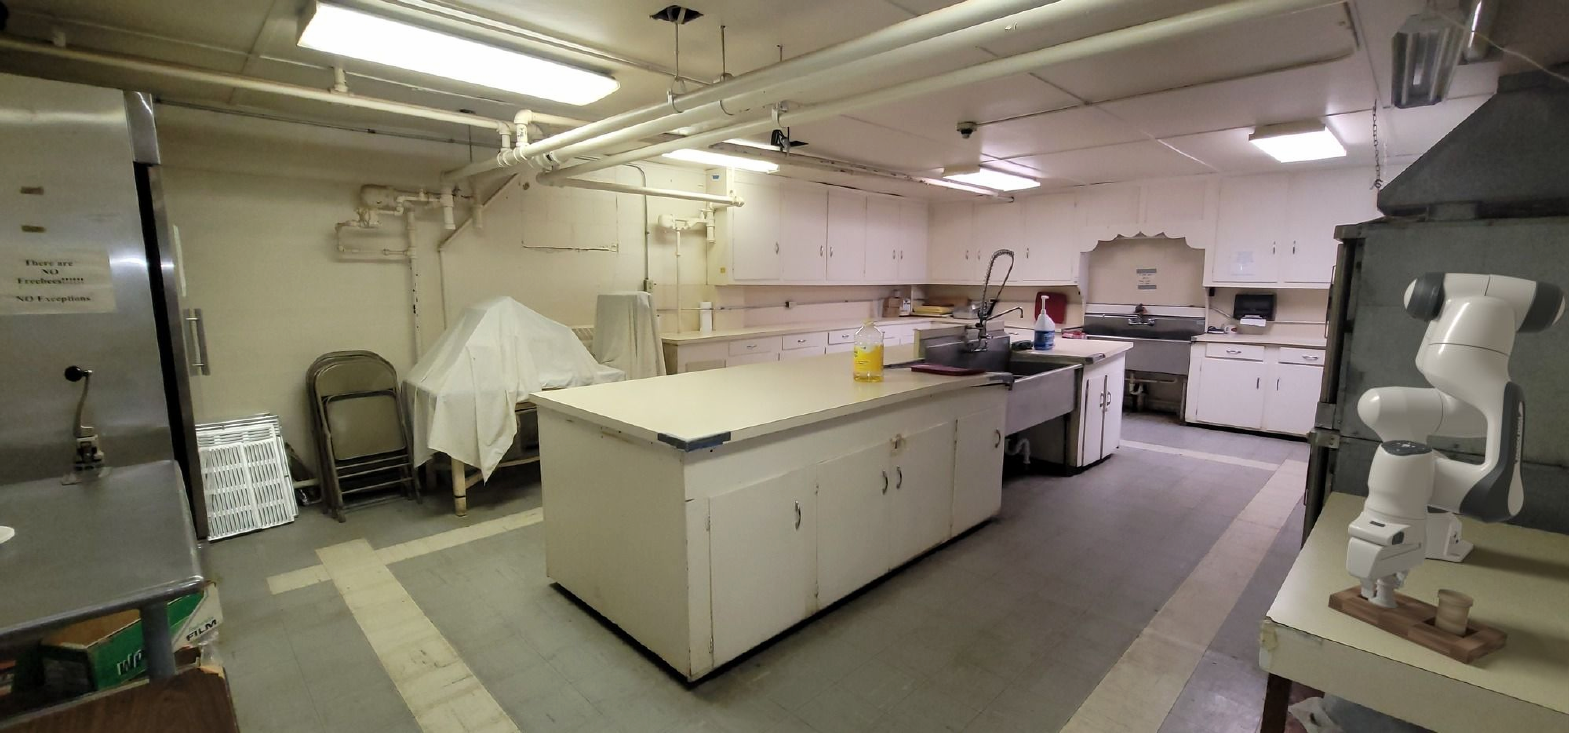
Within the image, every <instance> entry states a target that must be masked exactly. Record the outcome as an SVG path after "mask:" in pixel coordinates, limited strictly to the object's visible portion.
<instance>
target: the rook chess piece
mask: <svg viewBox="0 0 1569 733" xmlns="http://www.w3.org/2000/svg"><path fill="white" fill-rule="evenodd" d="M1398 580H1399V578H1398V577H1397V573H1395V574H1392V575H1389V576H1386V577H1383V578H1380V579H1377V583H1376V584H1377V588H1376V589H1377V590H1378V591H1377V597H1375V598H1372V599H1368V601H1369V602H1372V603H1374V604H1377V605H1380V606H1382V607H1385V608H1387V609H1390V610H1393V609H1395V608H1398V605H1397V604H1396V601H1395V599H1394V591H1395V589H1394V588H1395V587H1396V585H1395V582H1397V581H1398Z"/></svg>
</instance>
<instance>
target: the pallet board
mask: <svg viewBox="0 0 1569 733" xmlns="http://www.w3.org/2000/svg"><path fill="white" fill-rule="evenodd" d="M1377 584H1378V583H1375V589H1376V588H1377ZM1361 591H1362V586H1361V584H1359V585H1354V586H1353V587H1349V588H1347V589H1346V588H1345V589H1343V590H1340V591H1338V592H1334V593H1332V594H1331V593H1330V595H1329V597H1328V599H1329V600H1328V606H1327V607H1328V608H1331V609H1333V610H1336V611H1337V612H1340V613H1343V614H1345V615H1348V616H1350V617H1352V618H1355V619H1357V620H1359V621H1361V622H1364V623H1366V624H1369V625H1370V626H1371V625H1372V626H1373V627H1376V628H1378V629H1381V630H1383V631H1386V632H1388V633H1391V634H1393V635H1396V636H1398V637H1399V638H1403V639H1405V640H1407V641H1410V642H1412V643H1414V644H1416V645H1419V646H1422V647H1424V648H1426V649H1429V650H1431V651H1434V652H1436V653H1439V654H1441V655H1443V656H1446V657H1447V658H1450V659H1453V660H1455V661H1458V662H1460V663H1462V664H1465V665H1468V664H1470V663H1473V662H1475V661H1476V660H1478V659H1480V658H1482V657H1484V656H1485V657H1486V656H1487V655H1489V654H1491V653H1493V652H1495V651H1497V650H1500V649H1502V648H1503V647H1505V646H1506V644H1507V640H1508V639H1507V638H1508V635H1509V632H1507V631H1504V630H1502V629H1498V628H1496V627H1493V626H1491V625H1488V624H1486V623H1483V622H1480V621H1477V620H1475V619H1472V618H1469V613H1470V608H1471V607H1473V605H1474V600H1475V599H1474V598H1473V597H1471V596H1470V595H1468V594H1466V593H1463V592H1460V591H1458V590H1453V589H1448V588H1447V589H1445V588H1442V589H1438V592H1437V596H1436V597H1437V598H1438V603H1437V606H1436V605H1434V604H1431V603H1428V602H1425V601H1423V600H1420V599H1418V598H1416V597H1412V596H1409V595H1407V594H1404V593H1402V592H1398V591H1395V590H1394V599H1395V601H1396V604H1397V605H1398V608H1395V609H1393V610H1390V609H1387V608H1385V607H1382V606H1380V605H1377V604H1374V603H1372V602H1369V601H1368V599H1369V598H1366V597H1364V596H1362V595H1361Z"/></svg>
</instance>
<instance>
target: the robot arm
mask: <svg viewBox="0 0 1569 733" xmlns="http://www.w3.org/2000/svg"><path fill="white" fill-rule="evenodd" d="M1564 295H1565V294H1564V290H1563V289H1562V288H1561V287H1560V285H1558V284H1555V283H1552V282H1549V281H1543V280H1540V279H1536V280H1532V279H1531V280H1530V279H1525V278H1520V277H1513V276H1506V275H1499V274H1492V273H1491V274H1480V273H1466V272H1465V273H1464V272H1463V273H1461V272H1459V273H1458V272H1456V273H1455V272H1453V273H1452V272H1451V273H1450V272H1446V273H1445V271H1428V272H1423V273H1421V274H1419V275H1418V276H1417V277H1416V278H1415V279H1414V280H1413V281H1412V282H1411V283H1410V284H1409V285H1408V287H1407V288H1406V290H1405V293H1404V296H1403V303H1404V304H1403V305H1404V307H1405V312H1406V313H1407V314H1408V315H1409V316H1410V317H1411V318H1414V319H1416V320H1419V321H1421V322H1423V323H1426V324H1427V323H1428V322H1429V323H1428V327H1427V328H1426V330H1425V331H1426V332H1425V333H1424V337H1423V339H1422V341H1421V344H1420V346H1419V349H1418V351H1417V354H1416V357H1415V366H1416V368H1417V369H1418V371H1419V372H1420V373H1421V374H1423V376H1424V377H1425V379H1426V380H1427V382H1428V383H1429V384H1430V385H1431V386H1432V387H1433V388H1425V387H1424V388H1423V387H1410V386H1395V385H1394V386H1385V387H1384V386H1383V387H1373V388H1370V389H1368V390H1367V391H1365V392H1364V393H1362V396H1361V397H1360V398H1359V400H1358V402H1357V413H1358V414H1357V415H1358V416H1359V418H1360V420H1361V421H1362V422H1363V423H1364V425H1366V426H1367V427H1369V428H1370V429H1371V430H1373V431H1374V432H1375V433H1376V434H1377V435H1378V437H1379V438H1380V439H1381V440H1382V442H1381V443H1380V444H1379V445H1378V447H1377V449H1376V451H1375V453H1374V456H1373V459H1372V462H1371V466H1370V470H1369V475H1368V479H1367V487H1368V496H1367V498H1366V500H1365V501H1364V504H1363V511H1361V513H1360V515H1358V517H1357V518H1356V519H1355V520H1353V521H1352V522H1351V523H1349V525H1348V528H1347V530H1348V531H1347V533H1348V535H1350V536H1351V537H1350V539H1349V541H1348V545H1347V551H1346V553H1347V554H1346V561H1345V562H1346V565H1345V566H1346V567H1345V568H1346V571H1347V573H1348V575H1349V576H1350V577H1353V578H1356V579H1359V582H1360V585H1361V586H1362V591H1361V595H1362V596H1364V597H1366V598H1369V599H1372V598H1375V597H1377V591H1378V590H1377V589H1375V584H1378V583H1377V580H1378V579H1380V578H1383V577H1386V576H1389V575H1392V574H1395V573H1397V577H1398V578H1399V580H1398V581H1397V582H1395V585H1396V587H1395V588H1394V590H1400V589H1403V588H1404V585H1405V580H1407V577H1408V576H1409V574H1410V572H1411V569H1412V568H1413V569H1414V568H1415V567H1416V568H1417V567H1419V566H1421V565H1423V563H1424V562H1425V560H1426V558H1427V559H1435V560H1436V559H1438V560H1443V561H1450V562H1455V563H1462V561H1463V559H1465V558H1466V557H1467V555H1468V554H1469V553H1470V552H1471V551H1472V550H1473V549H1474V544H1473V543H1472V542H1470V541H1467V540H1465V539H1463V538H1461V536H1462V531H1463V530H1462V529H1463V523H1462V521H1460V519H1458V518H1457V516H1456V515H1455V514H1459V515H1460V516H1462V517H1465V518H1468V519H1471V520H1474V521H1478V522H1481V523H1484V524H1494V523H1495V524H1496V523H1500V522H1504V521H1507V520H1510V519H1513V518H1514V517H1516V516H1518V515H1519V513H1520V511H1521V510H1522V507H1523V504H1524V499H1525V498H1524V483H1523V478H1524V477H1523V461H1524V448H1525V436H1526V435H1525V434H1526V410H1527V409H1526V398H1525V393H1524V391H1523V389H1522V387H1521V386H1520V385H1518V384H1517V383H1515V382H1513V381H1512V380H1511V378H1510V375H1509V371H1508V364H1509V359H1510V357H1511V355H1512V354H1511V353H1512V350H1513V346H1514V342H1515V336H1516V334H1538V333H1542V332H1544V331H1546V330H1549V329H1550V328H1551V327H1552V326H1553V325H1554V324H1555V323H1556V322H1557V321H1558V320H1559V319H1560V317H1561V316H1562V315H1563V313H1564V310H1565V306H1566V300H1565V297H1564ZM1428 436H1437V437H1448V438H1449V437H1450V438H1459V439H1460V438H1462V439H1470V438H1471V439H1472V438H1474V439H1475V438H1476V439H1477V438H1486V444H1485V458H1484V462H1483V463H1482V464H1473V463H1468V462H1463V461H1459V460H1458V461H1457V460H1453V459H1450V458H1449V457H1447V456H1446V455H1445V454H1443V453H1441V452H1439V451H1438V450H1435V449H1434V448H1433V447H1431V446H1430V445H1428V443H1427V438H1428ZM1454 513H1455V514H1454Z"/></svg>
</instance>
